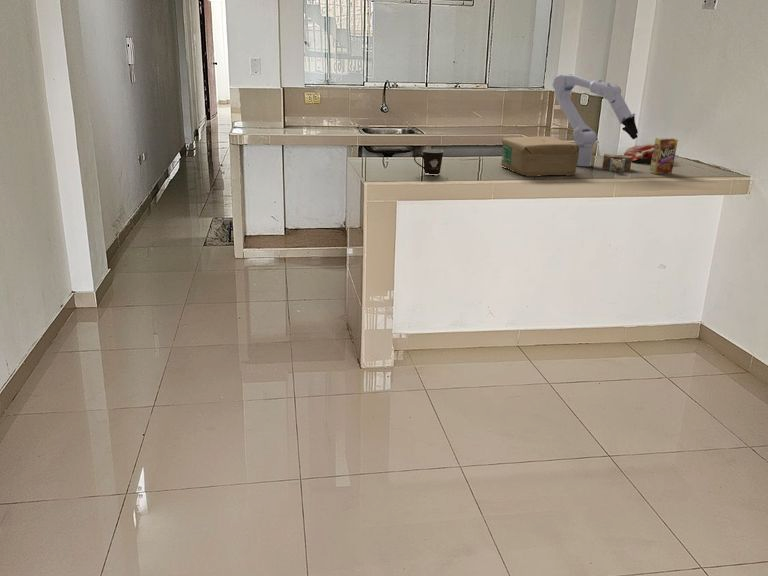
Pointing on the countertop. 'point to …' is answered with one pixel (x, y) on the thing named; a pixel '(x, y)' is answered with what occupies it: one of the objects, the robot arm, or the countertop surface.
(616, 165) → the shaft
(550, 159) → the paper package
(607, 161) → the bearing block
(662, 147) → the candy box
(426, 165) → the coffee mug
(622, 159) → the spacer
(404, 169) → the countertop surface
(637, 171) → the countertop surface
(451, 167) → the countertop surface
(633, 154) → the meat
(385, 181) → the countertop surface
